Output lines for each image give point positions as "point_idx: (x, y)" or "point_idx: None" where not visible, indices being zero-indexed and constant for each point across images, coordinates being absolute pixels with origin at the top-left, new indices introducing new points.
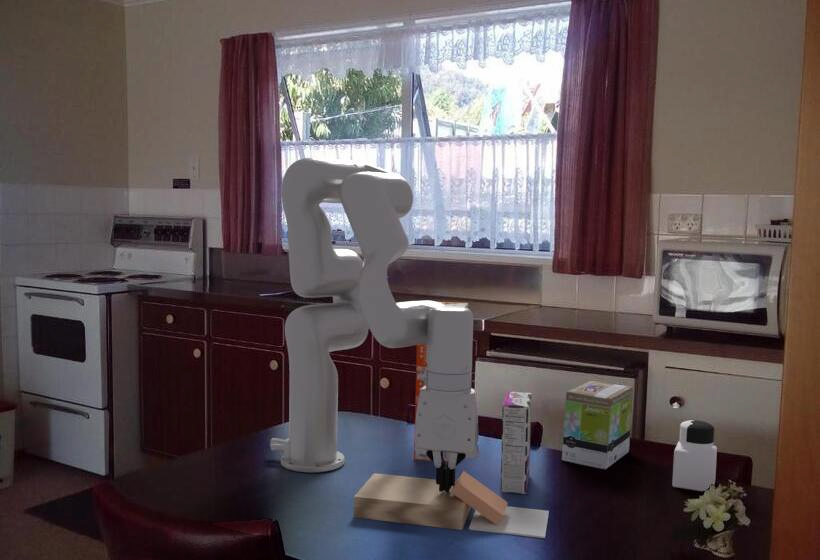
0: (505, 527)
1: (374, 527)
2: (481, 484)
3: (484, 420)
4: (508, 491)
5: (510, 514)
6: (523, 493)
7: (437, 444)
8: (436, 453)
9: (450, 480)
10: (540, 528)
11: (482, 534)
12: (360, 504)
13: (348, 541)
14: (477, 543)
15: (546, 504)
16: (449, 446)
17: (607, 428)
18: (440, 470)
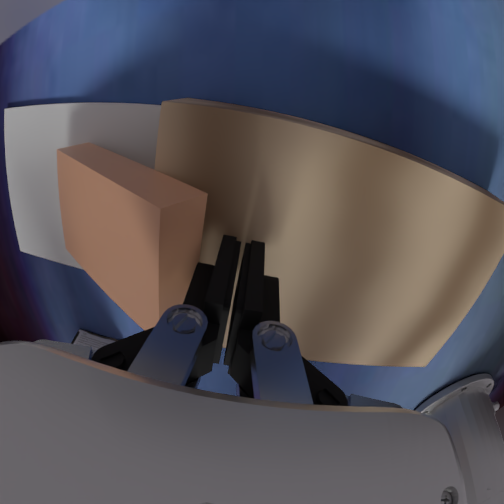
0: (70, 134)
1: (455, 119)
2: (108, 291)
3: None
4: (108, 340)
5: None
6: (82, 331)
7: (288, 457)
8: (285, 396)
9: (209, 275)
10: (12, 151)
11: (126, 81)
12: (499, 200)
13: (500, 49)
14: (143, 17)
15: (38, 287)
16: (151, 427)
17: None
18: (257, 302)
